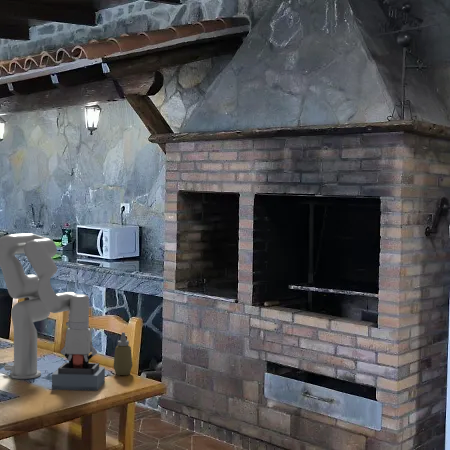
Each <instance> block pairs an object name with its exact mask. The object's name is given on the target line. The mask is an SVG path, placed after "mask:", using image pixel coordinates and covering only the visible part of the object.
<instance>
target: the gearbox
mask: <svg viewBox="0 0 450 450" xmlns="http://www.w3.org/2000/svg"><path fill="white" fill-rule="evenodd" d="M105 374H106V368H105V367H103V366H100V362H97V363H96V362H89V368H88V369H81V368H69V361H68V362H67V361H66V362H64V363H63V364H62V365H60V366H59V367H58V368H57V369H55V371H54V372H53V373H52V374H51V390H57V391H58V390H60V391H61V390H62V391H63V390H64V391H87V392H88V391H89V392H93V391H94V392H97V391H99V389H100V388H101V387H102V386H103V385H104V384H105V382H106V380H105V378H106V375H105Z"/></svg>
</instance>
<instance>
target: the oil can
mask: <svg viewBox="0 0 450 450" xmlns="http://www.w3.org/2000/svg"><path fill="white" fill-rule="evenodd" d="M84 361H85V358H84V355H78V354H76V355H74V354H73V355H72V368H81V369H84Z"/></svg>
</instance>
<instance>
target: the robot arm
mask: <svg viewBox="0 0 450 450" xmlns="http://www.w3.org/2000/svg"><path fill="white" fill-rule="evenodd" d="M57 249H58V248H57V245H56V243H55V241H54V240H52V239H51V238H48V237H45V236H41V235H38V234H35V233H29V232H28V233H27V232H26V233H25V232H24V233H10V234H6V235H5V234H4V235H3V236H1V237H0V269H1V271H2V276H3V278H4V282H5V286H6V288H7V292H8V294H9V296H10V298H12V299H15V300H19V299H25V298H28V299H26V300H22V301H18V302H17V303H15V304H14V305H13V306H12V308H11V312H10V314H11V319H12V327H13V364H12V365H11V364H5V365H4V366H3V367H4V370H5V371H10V372H9V377H10V378H12V379H16V380H17V379H18V380H28V379H35V378H38V377H40V376H41V374H42V372H41V370H39V369H38V331H37V330H38V329H37V328H36V326H35V324H34V323H36V322H40V321H44V320H45V319H47V318H49V316H50V314H51V313H52V314H58V313H63V312H67V311H69V321H68V322H65V325H66V326H68V328H67V329H66V335H65V343H64V344H65V345H64V347H63V348H62V349H61V350H60V353H61V355H63V356H64V357H65V358H66V359H67V361H68V362H69V368H72V355H73V354H74V355H76V354H78V355H84V358H85V361H84V369H88V368H89V363H90V360H91V359H92V358H93V357H94V356H96V355H97V354H98V351H97V350H96V348H95V347H94V345H93V338H92V331H91V328H89V327H90V326H89V325H90V324H89V323H90V321H89V317H90V316H89V315H90V311H89V310H90V299H89V296H88V295H87V294H82V293H76V292H73V291H65V292H60V293H59V292H58V293H56V292H55V291H54V289H53V287H52V285H51V278H52V277H54V276H55V275H56V273H57V271H58V266H57V264H56V263H55V261H54V260H53V257H55V256H56V254H57V252H58V250H57ZM22 254H24V255H25V256H26V258H27V260H28V262H29V263H30V265H31V266H32V269H33V270H34V272H35V274H33V273H32V274H26V272H25V270H24V267H23V265H22V263H21V261H20V260H19V258H17V256H16V255H22ZM90 353H91V354H90Z"/></svg>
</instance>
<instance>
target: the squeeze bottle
mask: <svg viewBox="0 0 450 450" xmlns="http://www.w3.org/2000/svg"><path fill="white" fill-rule="evenodd" d="M126 337H127V336H126V332H125V331H123V332H121V336H120V340H117V345H116V346H115V350H114V357H113V358H114V359H113V369H114V372H115V375H116V374H117V376H120V375H126V376H128V374H129V375H130V374H131V371H132V368H133V357H132V356H133V355H132V354H133V353H132V346H130V344H129V343H130V342H129V340H128V339H127V338H126Z"/></svg>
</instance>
